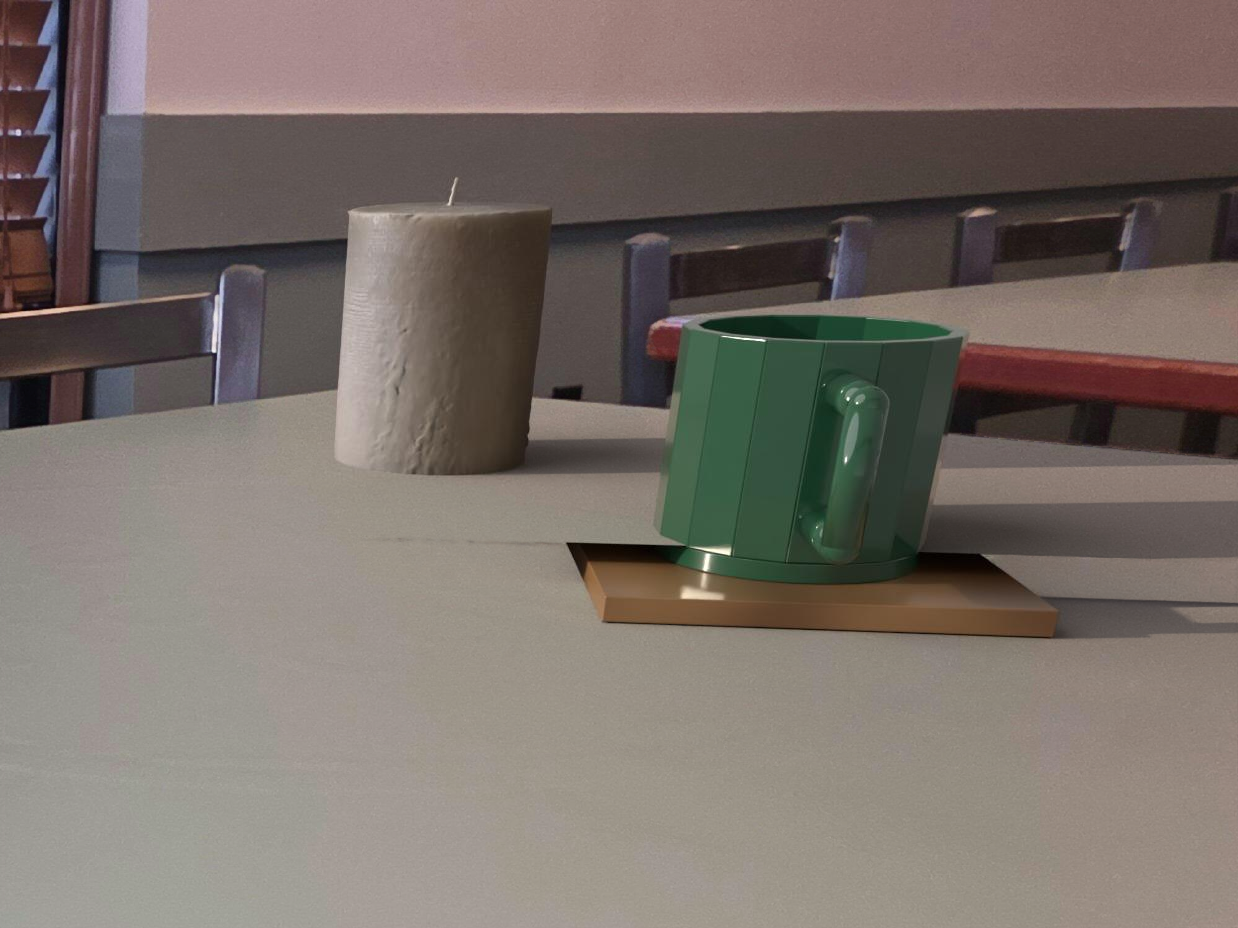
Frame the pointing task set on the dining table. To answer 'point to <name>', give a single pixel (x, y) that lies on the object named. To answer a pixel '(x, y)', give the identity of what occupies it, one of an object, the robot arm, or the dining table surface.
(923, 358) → the mug
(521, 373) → the pillar candle
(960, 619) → the trivet
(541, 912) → the dining table surface
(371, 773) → the dining table surface
